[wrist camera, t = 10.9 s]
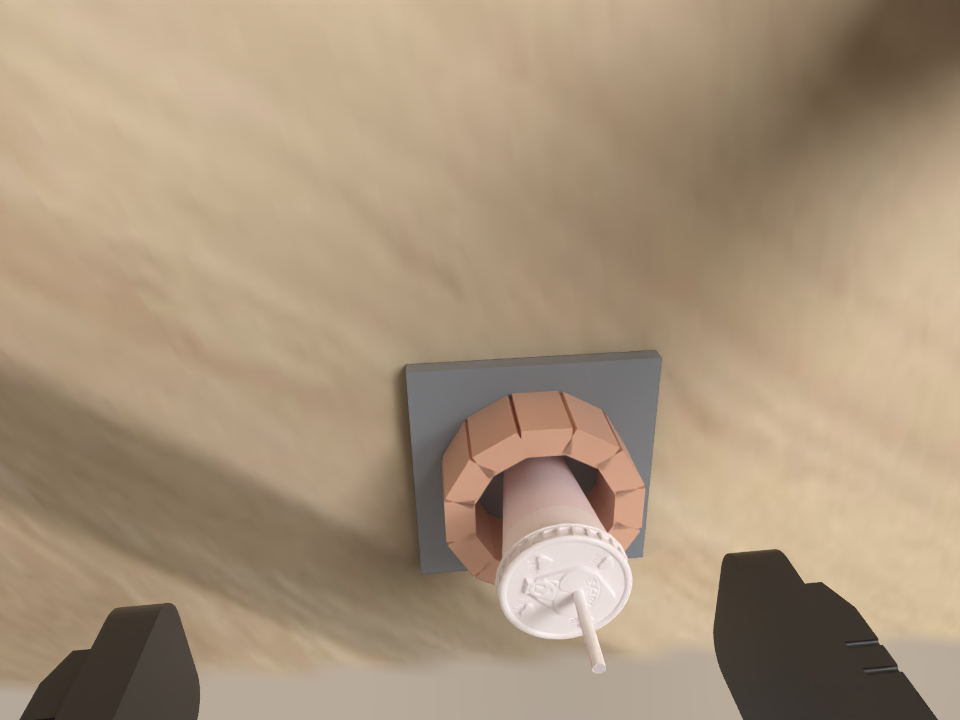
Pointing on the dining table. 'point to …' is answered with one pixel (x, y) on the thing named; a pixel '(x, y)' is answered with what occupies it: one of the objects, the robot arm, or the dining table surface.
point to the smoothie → (558, 557)
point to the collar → (527, 445)
